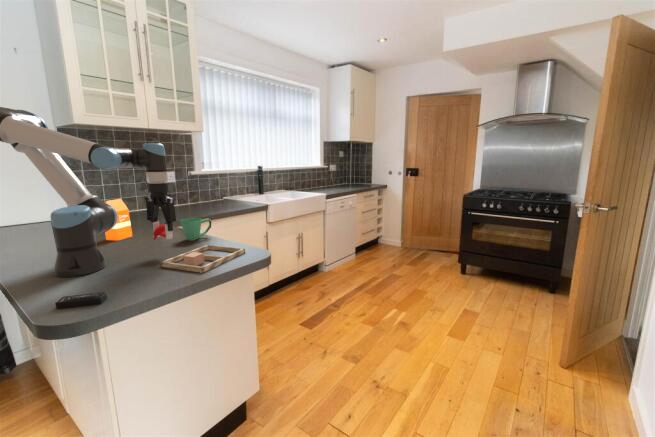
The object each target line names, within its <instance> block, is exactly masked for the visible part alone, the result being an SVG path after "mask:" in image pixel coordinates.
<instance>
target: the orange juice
mask: <svg viewBox="0 0 655 437" xmlns="http://www.w3.org/2000/svg"><path fill="white" fill-rule="evenodd" d="M105 203H106V204H109V205H111V206H113V207H114V208H115V210H116V212H117V215H118V219H117V223H116V225H115V226H114V227H113V228H112V229H110V230H108V231H107V232H105V239H106V241H121V240H124V239H128V238H131V237H133V230H132V224H131V218H130V211H129V208H128V207H127V205H126V204H125V202H124V201H123V200H122V198H117V199H111V200H106V202H105Z"/></svg>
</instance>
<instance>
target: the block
mask: <svg viewBox="0 0 655 437" xmlns="http://www.w3.org/2000/svg"><path fill="white" fill-rule="evenodd" d="M203 254H204V253H203V252H200V253H197V252H192V253H189V254H187V255H184V256H183V257H184V259H183V264H185V265H192V266H201V265H202V264H204V263H205V260H204V255H203Z"/></svg>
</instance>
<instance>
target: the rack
mask: <svg viewBox="0 0 655 437" xmlns="http://www.w3.org/2000/svg"><path fill="white" fill-rule="evenodd" d="M208 250H211V251H212V250H213V251H222V252H228V253H229V252H231V253H229V254H227V255H225V256H220V255H212V254H204V253H203V252H205V251H208ZM192 252H197V253H203V255H204V261H212V262H210V263H207V264H204V265H202V266H200V265H198V266H192V265H185V264H184V263H177V262H179V261H181V260H184V257H183V256H184V255H187V254H189V253H192ZM243 254H246V248H245V247H235V246H225V245H224V246H223V245H217V244H205V245H203V246H201V247H197V248H195V249H192V250H190V251H187V252H184V253H182V254H179V255H176V256H173V257H171V258H170V257H169V258H168V259H166V260H165V259H164V260H163V261H160V267H162V268H168V269H173V270H174V269H175V270H180V271H187V272H188V271H189V272H193V273H194V272H195V273H202V274H203V273H205V272H208V271H209V270H212V269H214V268H216V267H218V266H220V265H222V264H224V263H226V262H229V261H230V260H233V259H235V258H237V257H239V256H241V255H243Z"/></svg>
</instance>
